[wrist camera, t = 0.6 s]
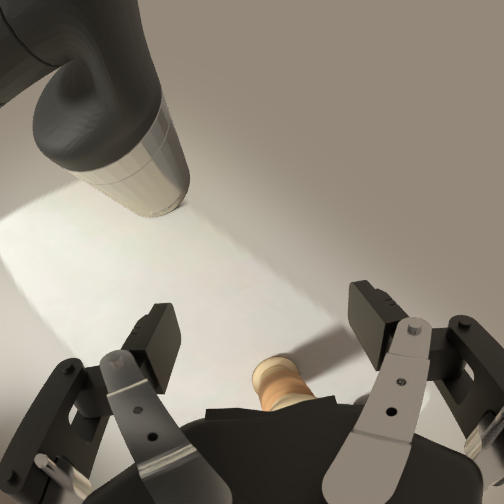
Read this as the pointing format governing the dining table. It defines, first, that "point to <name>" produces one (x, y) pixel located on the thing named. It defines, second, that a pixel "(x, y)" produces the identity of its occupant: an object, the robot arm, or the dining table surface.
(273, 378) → the bobbin
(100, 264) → the dining table surface
